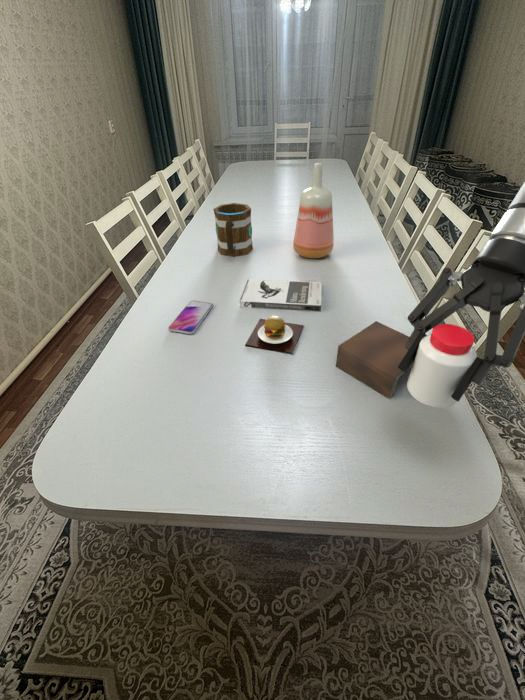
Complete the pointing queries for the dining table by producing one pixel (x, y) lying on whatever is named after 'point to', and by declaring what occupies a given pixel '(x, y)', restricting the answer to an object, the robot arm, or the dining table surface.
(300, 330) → the hamburger
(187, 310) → the smartphone
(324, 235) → the vase
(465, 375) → the robot arm
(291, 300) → the book
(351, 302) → the dining table surface
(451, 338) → the pill bottle
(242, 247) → the mug
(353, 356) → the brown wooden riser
